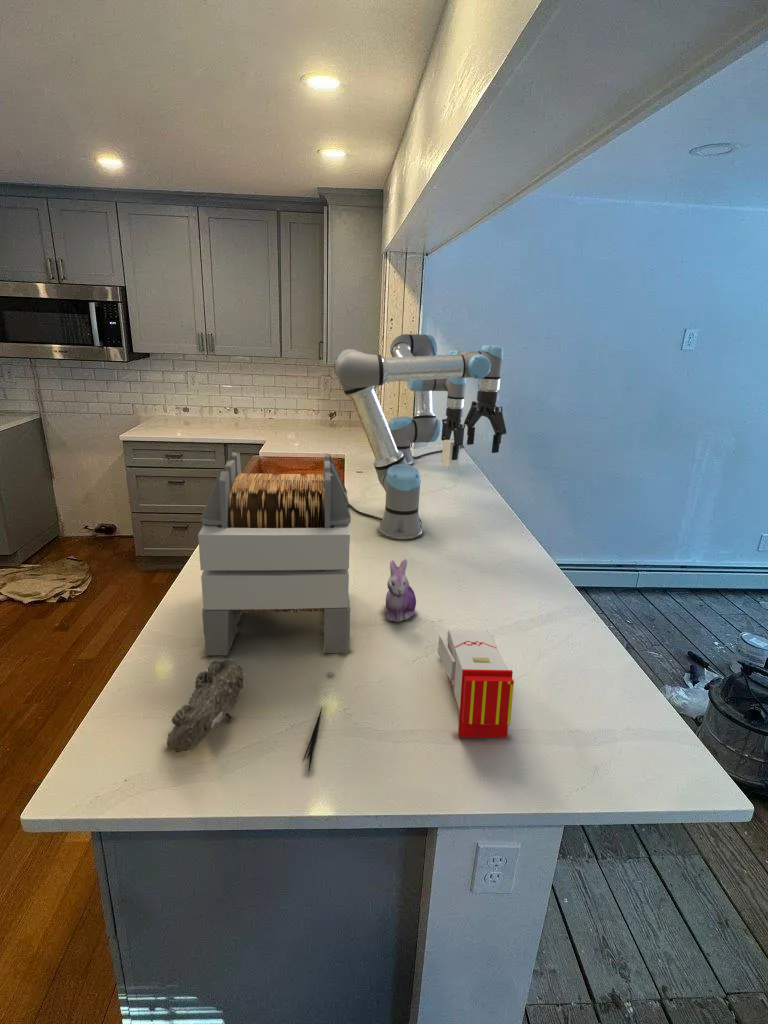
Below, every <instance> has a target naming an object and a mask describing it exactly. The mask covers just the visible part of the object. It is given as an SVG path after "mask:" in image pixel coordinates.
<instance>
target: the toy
mask: <svg viewBox="0 0 768 1024" xmlns="http://www.w3.org/2000/svg"><path fill="white" fill-rule="evenodd" d="M446 640H447V643H446V641H445V639H444V636H443V635H442V634H439V637H438V646H437V656H438V657H439V659H440V661H441V663H442V666H443V668H444V670H445V672H446V674H447V677H448V679H449V681H450V684H451V687H452V690H453V693H454V697H455V701H456V705H457V708H458V711H459V714H458V715H459V716H458V730H457V731H458V732H457V737H458V738H508V731H509V726H510V725H511V717H512V707H513V697H514V696H513V695H514V684H515V680H514V679H513V673H514V671H513V670H512V669H508V667H507V665H506V662H505V661H504V659H503V658H502V655H501V653H500V651H499V649H498V647H497V643H496V639H495V637H494V635H493V634H491V632H490V631H489V629H467V628H466V629H465V628H463V629H461V628H460V629H459V628H448V630H447V639H446Z"/></svg>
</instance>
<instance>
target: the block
mask: <svg viewBox="0 0 768 1024" xmlns="http://www.w3.org/2000/svg"><path fill="white" fill-rule="evenodd" d="M453 445H454V438H450V440H444V441H442V450H443V452H442V456H441V466H443V467H446V468H456V467H459V463H460V462H459V460H460V450H461V448H460V446H459V453H458V458H457V460H452V452H453Z"/></svg>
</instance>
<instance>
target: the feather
mask: <svg viewBox="0 0 768 1024" xmlns="http://www.w3.org/2000/svg"><path fill="white" fill-rule="evenodd" d="M329 675H330V676H331V675H332V674H331V673H330V674H329ZM322 710H323V707H321V708H320V710H319V713H318V716H317V719H316V723H315V725H314V728H313V731H312V733H311V737H310V739H309V742H308V745H307V748H306V751H305V754H304V757H303V760H302V763H301V767H302V765H303V763H304V761H305V758H308V759H309V760H308V762H307V763H308V764H307V766H308V771H310V770H311V766H312V765H311V764H312V760H313V757H315V756H314V755H315V751H316V749H315V746H317V739H318V733H319V729H320V722H321V717H322V712H323V711H322ZM313 754H314V755H313ZM306 755H307V757H306Z"/></svg>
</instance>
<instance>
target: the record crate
mask: <svg viewBox="0 0 768 1024" xmlns="http://www.w3.org/2000/svg"><path fill="white" fill-rule="evenodd" d="M241 463H242V462H241V453H240V452H235V451H233V452H231V455H230V457H229V459H227V460H226V463H225V466H224V468H223V470H222V471H220V474H219V475H218V477H217V479H216V482H215V483H214V486H213V489H212V491H211V494H210V495H209V498H208V499H207V502H206V505H205V507H204V509H203V511H202V514H201V517H200V520H201V524H202V527H201V529H200V530H199V532H198V535H197V538H198V550H199V552H198V553H199V563H200V565H199V567H200V571H202V573H201V575H200V580H201V581H200V582H201V594H202V605H203V607H202V609H201V610H202V611H201V617H202V629H203V638H204V639H203V640H204V649H205V650H204V651H205V652H204V655H205V656H206V657H212V656H228V654H229V652H230V650H231V647H232V645H233V643H234V640H235V638H236V635H237V632H238V623H240V620H241V617H242V614H244V613H250V614H251V613H253V614H254V613H257V614H258V613H298V612H301V613H302V612H308V613H309V612H322V614H323V654H344V655H346V654H347V653H349V652H350V639H351V604H350V595H349V594H350V593H349V586H350V585H349V584H350V572H349V571H350V570H349V569H350V549H351V548H350V547H351V545H350V542H351V533H350V532H351V531H350V526H349V525H350V524H351V520H352V516H351V515H352V514H351V507H349V504H350V502H349V496H348V490H347V488H346V486H345V484H344V482H343V480H342V478H341V474H340V473H339V471H338V469H337V466H336V465H335V462H334V460H333V458H332V455H331V454H330V453H326V452H324V453H323V473H322V474H321V473H318V474H316V475H315V474H314V473H306V474H303V475H302V474H301V473H288V474H287V473H280V474H273V473H244V472H243V473H242V466H241Z"/></svg>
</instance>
